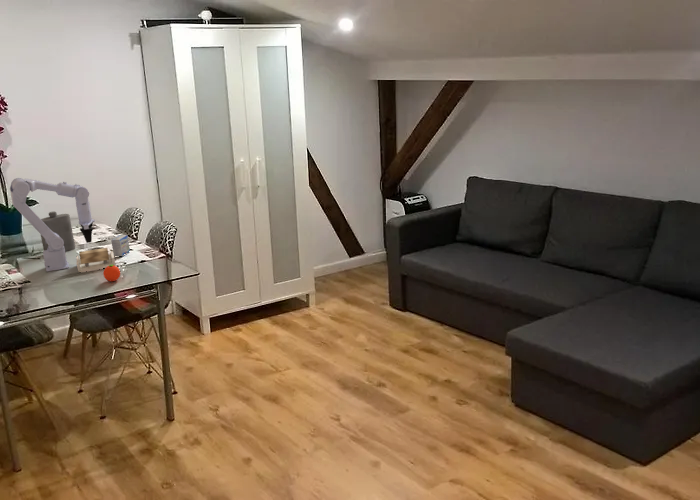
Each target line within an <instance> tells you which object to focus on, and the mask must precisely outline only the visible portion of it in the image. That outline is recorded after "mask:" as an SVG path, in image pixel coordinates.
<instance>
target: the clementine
mask: <svg viewBox="0 0 700 500" xmlns="http://www.w3.org/2000/svg"><path fill="white" fill-rule="evenodd" d="M102 275H103V277H104V278H105V280H106V281H108V282H115V281H117V280H118V279H119V278H120V277H121V270H120V268H119V267H118V266H117V265H115V266H114V265H110V266H107V267H106V268H105V269H103V273H102Z"/></svg>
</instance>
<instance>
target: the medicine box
mask: <svg viewBox="0 0 700 500" xmlns="http://www.w3.org/2000/svg"><path fill="white" fill-rule="evenodd" d="M111 247H112V248H111V249H112V251H113V254H114V256H123V255H124V254H126V253H128V252H129V251H130V252H131V248H130V243H129V237H128V235H127V234H119V235H117V236H116V237H114V238H113V239H111ZM130 252H129V253H130ZM129 253H128V254H129ZM126 255H127V254H126ZM123 257H124V256H123Z"/></svg>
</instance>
